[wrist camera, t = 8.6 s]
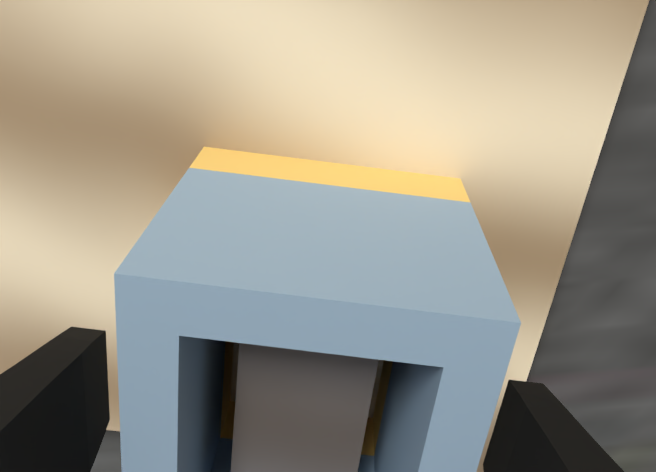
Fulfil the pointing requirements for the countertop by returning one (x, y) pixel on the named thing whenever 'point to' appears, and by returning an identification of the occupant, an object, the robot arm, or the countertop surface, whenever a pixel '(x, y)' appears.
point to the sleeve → (311, 307)
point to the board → (296, 142)
